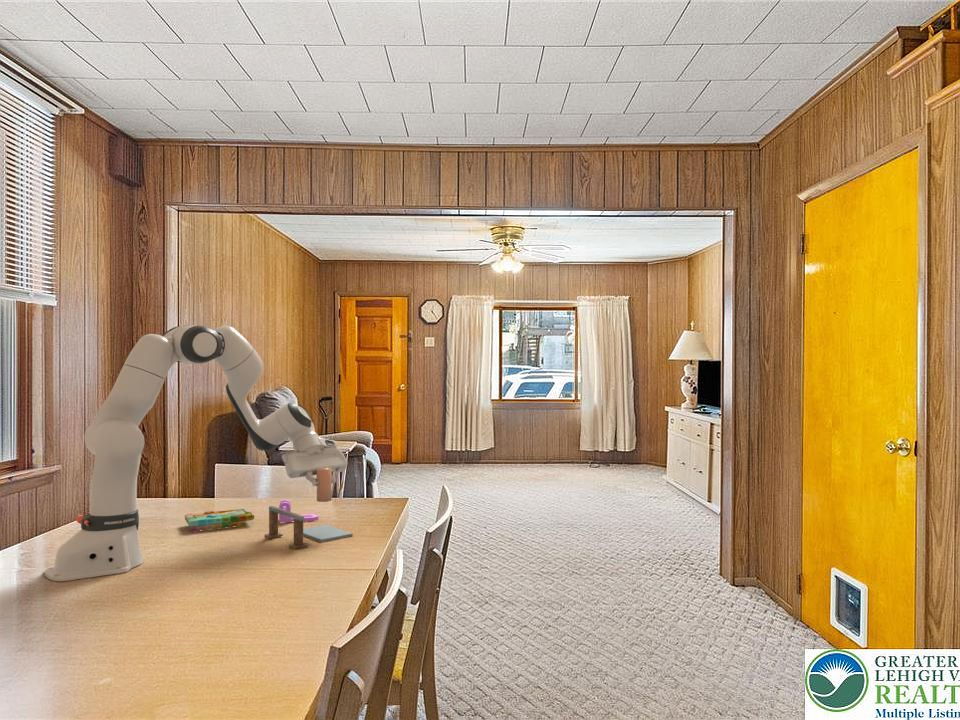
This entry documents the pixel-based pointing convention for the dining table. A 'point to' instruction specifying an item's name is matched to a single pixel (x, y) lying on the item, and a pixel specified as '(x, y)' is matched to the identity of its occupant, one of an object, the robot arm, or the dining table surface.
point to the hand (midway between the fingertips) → (325, 483)
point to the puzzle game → (218, 519)
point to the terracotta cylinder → (324, 485)
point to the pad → (325, 533)
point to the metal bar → (286, 513)
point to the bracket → (288, 508)
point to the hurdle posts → (297, 531)
